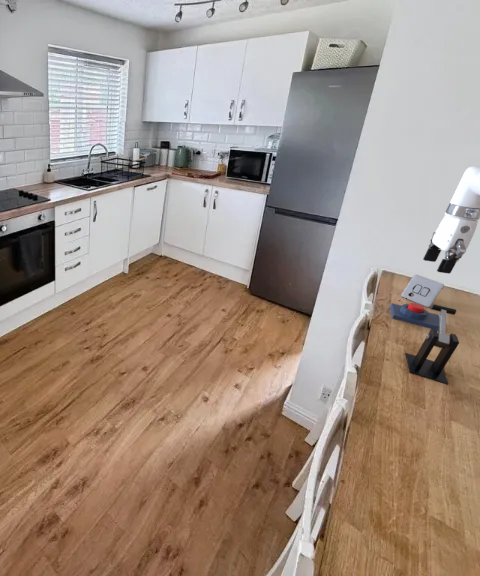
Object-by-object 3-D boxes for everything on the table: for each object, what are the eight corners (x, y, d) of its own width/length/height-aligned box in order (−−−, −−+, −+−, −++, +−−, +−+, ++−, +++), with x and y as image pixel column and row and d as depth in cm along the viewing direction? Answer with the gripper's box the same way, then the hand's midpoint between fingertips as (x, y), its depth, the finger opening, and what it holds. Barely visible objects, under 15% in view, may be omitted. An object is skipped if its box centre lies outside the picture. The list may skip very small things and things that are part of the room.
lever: (429, 307, 103) (433, 301, 101) (452, 312, 100) (457, 307, 99) (427, 344, 96) (431, 339, 94) (451, 350, 94) (456, 346, 92)
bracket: (403, 356, 105) (422, 321, 100) (439, 366, 101) (460, 331, 96) (407, 375, 97) (428, 338, 92) (446, 387, 94) (470, 350, 88)
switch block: (435, 320, 124) (441, 310, 122) (440, 333, 117) (446, 323, 115) (388, 308, 130) (393, 298, 128) (391, 320, 123) (396, 310, 121)
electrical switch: (399, 296, 139) (412, 274, 135) (406, 295, 141) (418, 273, 137) (428, 308, 132) (442, 285, 128) (434, 306, 134) (448, 283, 130)
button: (421, 309, 123) (423, 305, 122) (422, 314, 120) (425, 310, 119) (406, 306, 125) (408, 301, 124) (407, 311, 122) (410, 306, 121)
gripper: (497, 221, 97) (465, 279, 105) (464, 206, 112) (437, 258, 119) (463, 217, 99) (433, 275, 107) (434, 203, 114) (410, 254, 121)
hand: (435, 266), depth 113 cm, fingers open, 9 cm apart
